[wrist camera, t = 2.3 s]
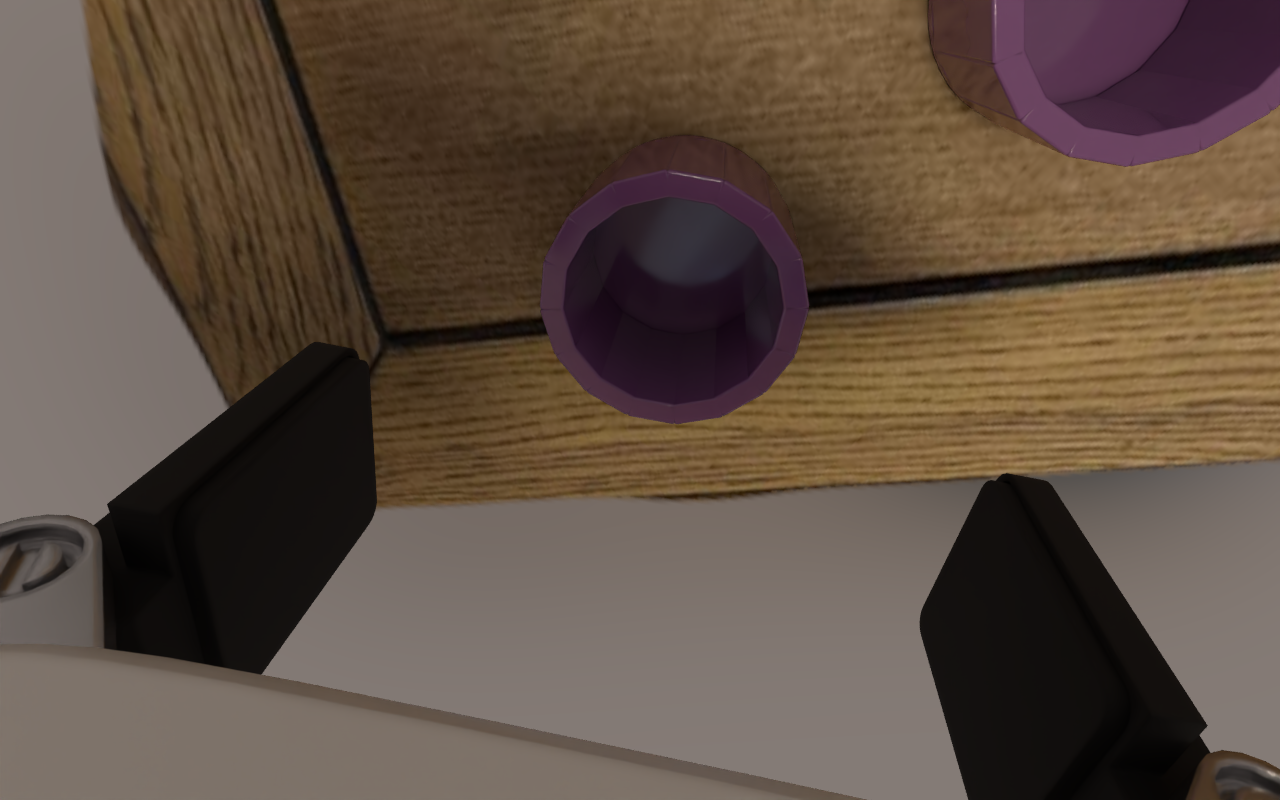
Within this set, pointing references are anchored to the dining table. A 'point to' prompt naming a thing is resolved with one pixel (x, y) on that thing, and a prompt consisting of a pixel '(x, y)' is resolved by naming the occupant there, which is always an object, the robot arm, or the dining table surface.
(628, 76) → the dining table surface
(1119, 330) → the dining table surface
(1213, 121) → the purple hollow cylinder
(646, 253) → the purple cup
